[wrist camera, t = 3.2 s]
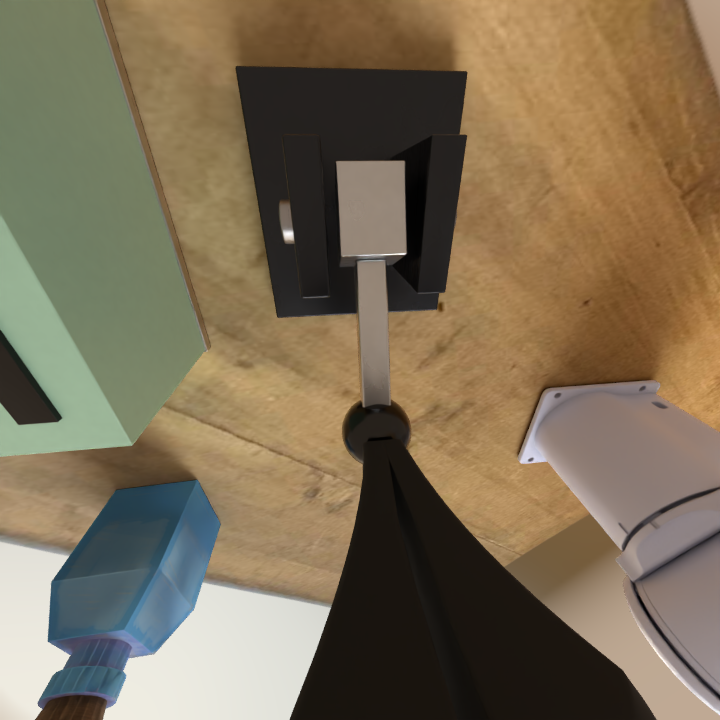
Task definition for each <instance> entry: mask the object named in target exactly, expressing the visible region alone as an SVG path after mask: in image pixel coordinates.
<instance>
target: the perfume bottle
mask: <svg viewBox="0 0 720 720" xmlns="http://www.w3.org/2000/svg"><path fill="white" fill-rule="evenodd" d="M220 525H221V524H220V522H219V520H218V518H217V516H216V514H215V512H214V510H213V509H212V507H211V505H210V503H209V501H208V499H207V497H206V495H205V493H204V491H203V490H202V488H201V486H200V484H199V482H198V480H193V481H185V482H177V483H169V484H160V485H152V486H144V487H136V488H128V489H120V490H116V491H115V492H114V494H113V495H112V497H111V498H110V499H109V501H108V502H107V504H106V505H105V506H104V508H103V509H102V511H101V512H100V514H99V515H98V516H97V518H96V519H95V521H94V522H93V524H92V525H91V526H90V528H89V529H88V531H87V532H86V534H85V535H84V536H83V538H82V539H81V541H80V542H79V543H78V545H77V546H76V548H75V549H74V551H73V552H72V553H71V555H70V556H69V558H68V559H67V561H66V562H65V564H64V565H63V566H62V568H61V569H60V571H59V572H58V573H57V575H56V576H55V578H54V579H53V580H52V583H51V597H50V614H49V629H48V642H50V643H51V644H53V645H54V646H56V647H58V648H59V649H61V650H63V651H64V652H66V653H68V654H69V655H71V656H70V657H69V659H68V661H67V663H66V665H65V667H64V669H63V670H61V671H58V672H56V673H55V674H54V675H53V676H52V678H51V680H50V682H49V683H48V685H47V687H46V689H45V691H44V692H43V694H42V696H41V698H40V699H39V701H38V706H39V707H40V708H42V709H43V710H42V711H41V712H40V714H39V715H38V717H37V718H36V719H35V720H103V716H104V713H105V709H106V708H108V707H111V706H113V705H114V704H115V703H116V701H117V698H118V696H119V693H120V691H121V688H122V686H123V683H124V681H125V679H126V674H125V673H124V672H123V670H124V667H125V665H126V662H127V660H128V658H134V657H139V656H146V655H152V654H155V652H156V651H157V650H158V649H159V648H160V647H161V646H162V645H163V644H164V642H165V641H166V640H167V639H168V638H169V637H170V636H171V634H173V632H174V631H175V630H176V629H177V628H178V627H179V625H180V624H181V623H182V622H183V621H184V620H185V619H186V618H187V616H188V615H189V614H190V613H191V612H192V611H193V610H194V608H195V604H196V601H197V598H198V595H199V592H200V588H201V585H202V582H203V579H204V576H205V573H206V569H207V566H208V563H209V560H210V557H211V553H212V550H213V547H214V544H215V541H216V538H217V534H218V531H219V528H220Z"/></svg>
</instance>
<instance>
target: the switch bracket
mask: <svg viewBox="0 0 720 720" xmlns="http://www.w3.org/2000/svg"><path fill="white" fill-rule="evenodd" d="M236 74H237V80H238V86H239V92H240V98H241V104H242V110H243V116H244V122H245V128H246V134H247V140H248V146H249V152H250V158H251V164H252V170H253V176H254V182H255V188H256V194H257V200H258V206H259V212H260V218H261V224H262V230H263V236H264V242H265V248H266V254H267V259H268V265H269V271H270V277H271V283H272V289H273V295H274V301H275V307H276V313H277V317H278V318H283V317H303V316H323V315H343V314H356V297H355V276H354V267H339V260H338V243H337V225H336V208H335V162H336V161H405V162H406V215H407V254H406V255H405V256H404V257H402V258H401V259H400V260H398V261H397V262H395V263H394V264H393V265H387V290H388V312H404V311H424V310H437V305H438V297H439V293H444V292H445V290H446V282H447V275H448V268H449V261H450V254H451V247H452V239H453V232H454V228H455V224H456V218H457V204H458V197H459V189H460V182H461V175H462V168H463V161H464V154H465V146H466V139H467V135H459V134H460V127H461V119H462V111H463V104H464V96H465V88H466V80H467V72H466V71H433V70H390V69H346V68H303V67H260V66H236Z"/></svg>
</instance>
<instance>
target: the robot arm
mask: <svg viewBox="0 0 720 720" xmlns="http://www.w3.org/2000/svg"><path fill="white" fill-rule="evenodd" d="M659 387H660V383H659V382H657V381H655V380H648V381H635V382H621V383H608V384H595V385H582V386H569V387H556V388H548V389H546V390H545V391H544V392H543V393H542V396H541V398H540V401H539V404H538V406H537V409H536V411H535V414H534V417H533V419H532V422H531V425H530V427H529V430H528V432H527V435H526V438H525V440H524V443H523V445H522V448H521V451H520V453H519V456H518V460H519V462H520V463H522V464H526V463H536V462H546V461H547V462H548V463H549V464H550V465H551V466H552V468H553V469H554V470H555V471H556V472H557V474H558V475H559V476H560V477H561V478H562V480H563V481H564V482H565V483H566V484H567V486H568V487H569V488H570V489H571V490H572V492H573V493H574V494H575V495H576V496H577V498H578V499H579V500H580V501H581V503H582V504H583V505H584V506H585V507H586V509H587V510H588V511H589V512H590V513H591V515H592V516H593V517H594V518H595V519H596V521H597V522H598V523H599V524H600V525H601V527H602V528H603V529H604V530H605V531H606V533H607V534H608V535H609V536H610V537H611V538H612V540H613V541H614V542H615V543H616V545H617V546H618V547H619V548H620V549H621V550H622V552H623V553H622V554H620V555H619V556H618V557H617V558H615V560H616V561H617V563H618V564H619V565H620V566H621V568H622V569H623V570H624V571H625V573H626V574H627V576H626V577H625V578H624V581H623V587H624V593H625V596H626V599H627V601H628V605H629V608H630V611H631V613H632V615H633V617H634V619H635V621H636V623H637V625H638V627H639V628H640V630H641V632H642V633H643V635H644V636H645V638H646V639H647V640H648V642H649V644H650V645H651V646H652V648H653V649H654V650H655V652H656V653H657V654H658V656H659V657H660V658H661V659H662V661H663V662H664V663H665V664H666V665H667V666H668V668H669V669H670V670H671V671H672V672H673V673H674V675H675V676H676V677H677V678H678V679H679V680H680V681H681V682H682V683H683V684H684V685H685V686H686V687H687V688H688V689H689V690H690V691H691V692H692V693H693V694H694V695H695V696H697V697H698V698H699V699H700V700H701V701H702V702H703V703H705V704H706V705H707V706H708V707H710V708H711V709H713V710H714V711H715V712H716V713H718V714H719V715H720V432H718V431H717V430H715V429H713V428H712V427H710V426H708V425H707V424H705V423H704V422H702V421H700V420H699V419H697V418H695V417H694V416H692V415H690V414H689V413H687V412H685V411H684V410H682V409H680V408H679V407H677V406H675V405H674V404H672V403H670V402H669V401H667V400H666V399H664V398H662V397H661V396H659V395H657V394H656V392H657V391H658V389H659ZM290 720H656V718H655V717H654V715H653V713H652V712H651V710H650V708H649V707H648V706H647V704H646V702H645V701H644V700H643V698H642V697H641V695H640V694H639V692H638V691H637V690H636V688H635V687H634V686H633V684H632V683H631V681H630V680H629V679H628V677H627V676H626V674H625V673H624V671H623V670H622V669H620V668H619V667H618V666H617V665H616V664H614V663H613V662H612V661H611V660H609V659H608V658H607V657H606V656H604V655H603V654H602V653H601V652H599V651H598V650H597V649H596V648H595V647H593V646H592V645H591V644H590V643H588V642H587V641H586V640H585V639H584V638H582V637H581V636H580V635H579V634H578V633H576V632H575V631H574V630H573V629H571V628H570V627H569V626H568V625H567V624H566V623H565V622H563V621H562V620H561V619H560V618H559V617H558V616H556V615H555V614H554V613H553V612H552V611H551V610H550V609H548V608H547V607H546V606H545V605H544V604H543V603H542V602H540V601H539V600H538V599H537V598H536V597H535V596H534V595H533V594H532V593H531V592H530V591H529V590H527V589H526V588H525V587H524V586H523V585H522V584H521V583H520V582H519V581H518V580H517V579H516V578H515V577H514V576H513V575H511V574H510V573H509V572H508V571H507V570H506V569H505V568H504V567H503V566H502V565H501V564H500V563H499V562H498V561H497V560H496V559H495V558H494V557H493V556H492V555H491V554H490V553H489V552H488V551H487V550H486V549H485V548H484V547H483V546H482V545H481V544H480V542H479V541H478V540H477V539H476V538H475V537H474V536H473V535H472V534H471V533H470V532H469V531H468V529H467V528H466V527H465V526H464V525H463V524H462V523H461V521H460V520H459V519H458V518H457V517H456V516H455V514H454V513H453V512H452V511H451V510H450V508H449V507H448V506H447V505H446V504H445V502H444V501H443V500H442V498H441V497H440V496H439V495H438V493H437V492H436V491H435V489H434V488H433V487H432V485H431V484H430V483H429V481H428V480H427V479H426V477H425V476H424V474H423V473H422V472H421V470H420V469H419V467H418V466H417V464H416V463H415V461H414V460H413V458H412V457H411V455H410V453H409V452H408V450H407V449H406V447H405V445H404V443H403V442H402V440H400V439H391V440H380V441H369V442H365V443H364V444H363V480H362V487H361V494H360V501H359V506H358V511H357V516H356V521H355V526H354V530H353V534H352V538H351V542H350V546H349V550H348V554H347V557H346V561H345V565H344V568H343V571H342V575H341V578H340V581H339V585H338V588H337V591H336V594H335V598H334V601H333V604H332V607H331V610H330V613H329V616H328V618H327V621H326V624H325V627H324V630H323V633H322V636H321V639H320V641H319V644H318V647H317V650H316V653H315V655H314V658H313V661H312V663H311V666H310V668H309V671H308V673H307V676H306V679H305V681H304V684H303V686H302V689H301V691H300V694H299V697H298V699H297V702H296V704H295V707H294V710H293V712H292V715H291V717H290Z"/></svg>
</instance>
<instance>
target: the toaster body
mask: <svg viewBox="0 0 720 720" xmlns="http://www.w3.org/2000/svg"><path fill="white" fill-rule="evenodd" d="M210 347H211V346H210V343H209V339H208V336H207V333H206V330H205V326H204V323H203V320H202V317H201V313H200V310H199V307H198V304H197V300H196V297H195V294H194V291H193V288H192V284H191V281H190V278H189V275H188V271H187V268H186V265H185V262H184V258H183V255H182V252H181V249H180V245H179V242H178V239H177V236H176V232H175V229H174V226H173V223H172V219H171V216H170V213H169V210H168V206H167V203H166V200H165V197H164V194H163V190H162V187H161V184H160V181H159V177H158V174H157V171H156V168H155V164H154V161H153V158H152V155H151V151H150V148H149V145H148V142H147V138H146V135H145V132H144V129H143V125H142V122H141V119H140V116H139V113H138V109H137V106H136V103H135V100H134V96H133V93H132V90H131V87H130V83H129V80H128V77H127V74H126V70H125V67H124V64H123V61H122V57H121V54H120V51H119V48H118V44H117V41H116V38H115V35H114V31H113V28H112V25H111V22H110V19H109V15H108V12H107V9H106V6H105V2H104V0H0V457H1V456H13V455H25V454H37V453H49V452H61V451H73V450H85V449H97V448H109V447H121V446H132V445H133V444H134V443H135V441H136V440H137V439H138V438H139V436H140V435H141V434H142V432H143V431H144V430H145V428H146V427H147V426H148V424H149V423H150V422H151V421H152V419H153V418H154V417H155V415H156V414H157V413H158V411H159V410H160V409H161V407H162V406H163V405H164V403H165V402H166V401H167V400H168V398H169V397H170V396H171V394H172V393H173V392H174V390H175V389H176V388H177V386H178V385H179V384H180V383H181V381H182V380H183V379H184V377H185V376H186V375H187V373H188V372H189V371H190V369H191V368H192V367H193V366H194V364H195V363H196V362H197V360H198V359H199V358H200V356H201V355H202V354H203V352H206V351H208V350H209V349H210Z"/></svg>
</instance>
